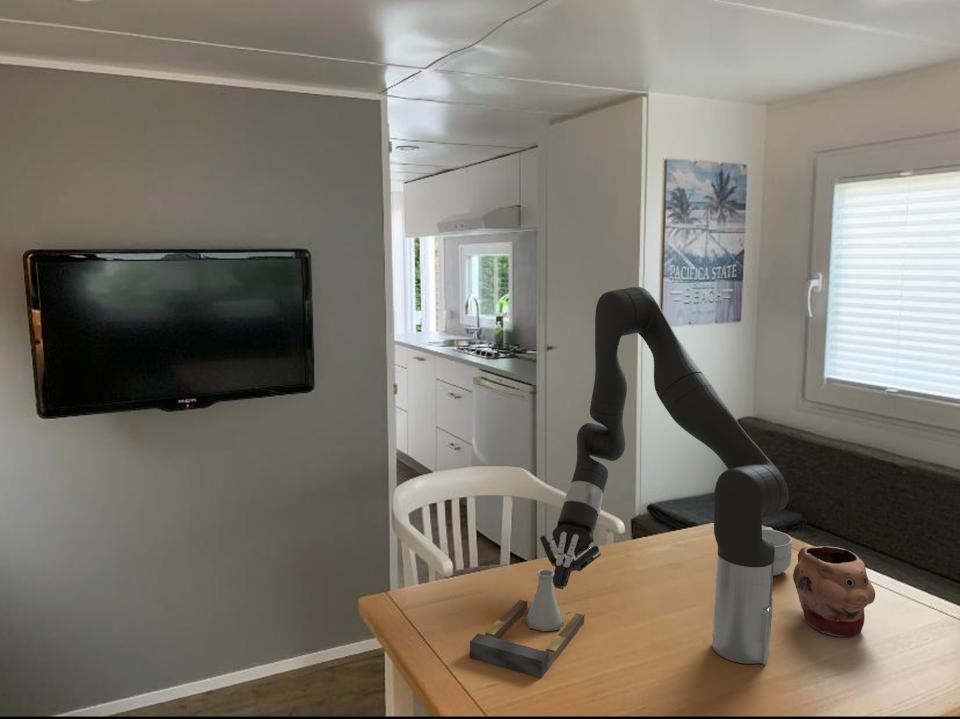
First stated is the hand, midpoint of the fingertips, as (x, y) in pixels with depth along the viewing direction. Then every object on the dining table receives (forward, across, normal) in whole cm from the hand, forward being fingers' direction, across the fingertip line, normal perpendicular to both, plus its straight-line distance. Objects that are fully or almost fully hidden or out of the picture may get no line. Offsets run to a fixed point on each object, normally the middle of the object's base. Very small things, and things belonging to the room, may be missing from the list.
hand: (558, 587), depth 144 cm
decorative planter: (-10, +47, +17) cm, 51 cm away
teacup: (-25, +34, +32) cm, 53 cm away
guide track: (+13, 0, -7) cm, 14 cm away
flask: (+8, 0, -2) cm, 8 cm away
